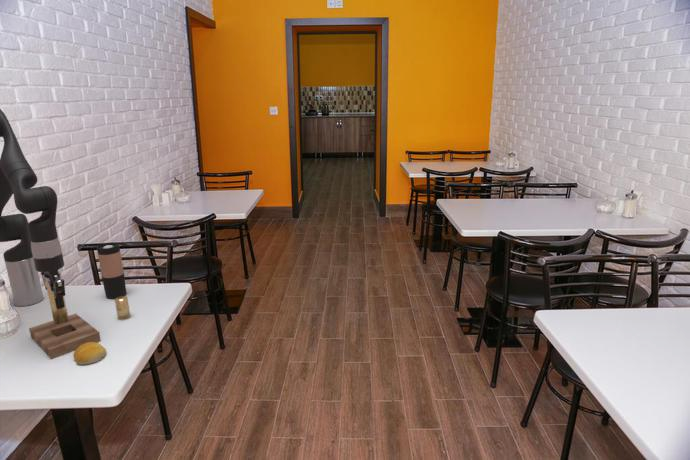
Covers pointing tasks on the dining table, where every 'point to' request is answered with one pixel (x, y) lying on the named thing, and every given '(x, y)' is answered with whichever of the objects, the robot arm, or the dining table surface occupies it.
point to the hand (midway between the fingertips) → (58, 305)
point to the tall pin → (58, 314)
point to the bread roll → (89, 353)
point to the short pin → (122, 307)
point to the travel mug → (112, 270)
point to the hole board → (63, 335)
